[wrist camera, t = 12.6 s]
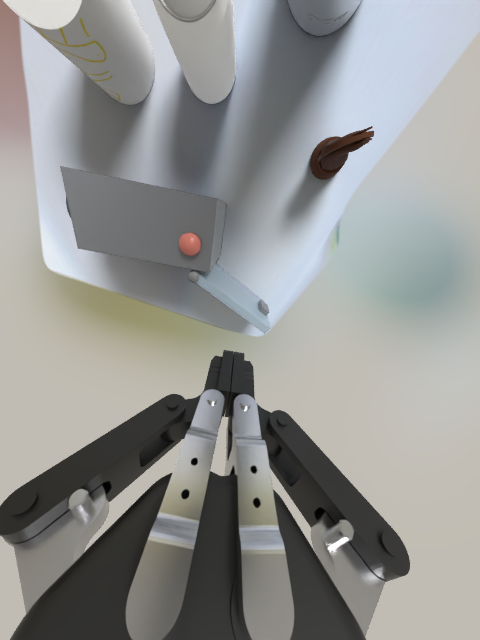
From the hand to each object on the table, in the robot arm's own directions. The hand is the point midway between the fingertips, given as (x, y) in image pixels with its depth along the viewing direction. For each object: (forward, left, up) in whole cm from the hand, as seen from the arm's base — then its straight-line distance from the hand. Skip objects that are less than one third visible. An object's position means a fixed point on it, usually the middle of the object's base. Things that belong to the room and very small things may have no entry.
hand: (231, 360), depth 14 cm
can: (-25, -4, -25) cm, 36 cm away
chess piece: (-16, +12, -25) cm, 33 cm away
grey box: (-8, -12, -25) cm, 29 cm away
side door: (+1, -1, -24) cm, 24 cm away
